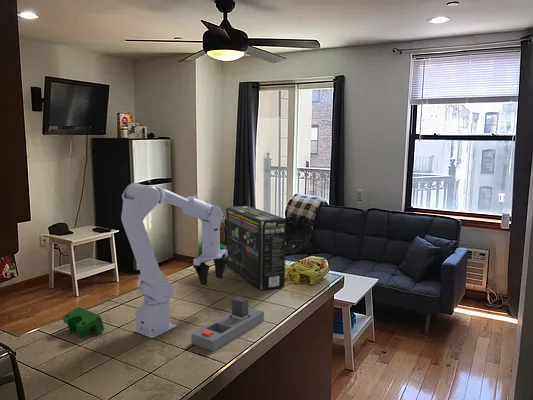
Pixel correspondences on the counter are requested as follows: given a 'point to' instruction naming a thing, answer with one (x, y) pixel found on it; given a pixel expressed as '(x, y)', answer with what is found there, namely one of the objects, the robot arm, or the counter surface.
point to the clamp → (83, 322)
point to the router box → (256, 246)
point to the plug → (240, 308)
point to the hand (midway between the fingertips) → (211, 281)
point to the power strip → (225, 330)
